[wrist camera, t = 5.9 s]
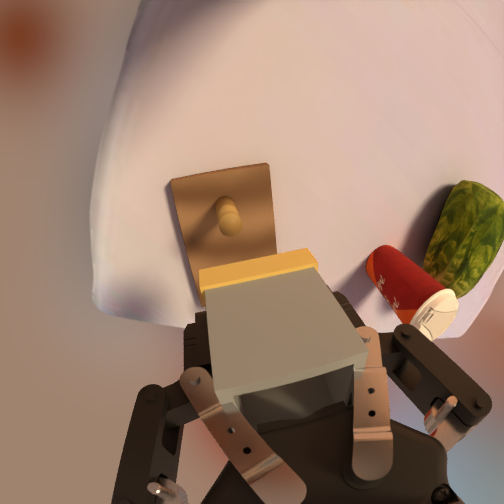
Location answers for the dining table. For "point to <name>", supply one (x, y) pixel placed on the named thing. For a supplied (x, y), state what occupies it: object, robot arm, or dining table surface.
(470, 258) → the lettuce
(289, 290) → the sleeve
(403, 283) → the paper cup
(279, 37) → the dining table surface
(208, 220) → the pin board
